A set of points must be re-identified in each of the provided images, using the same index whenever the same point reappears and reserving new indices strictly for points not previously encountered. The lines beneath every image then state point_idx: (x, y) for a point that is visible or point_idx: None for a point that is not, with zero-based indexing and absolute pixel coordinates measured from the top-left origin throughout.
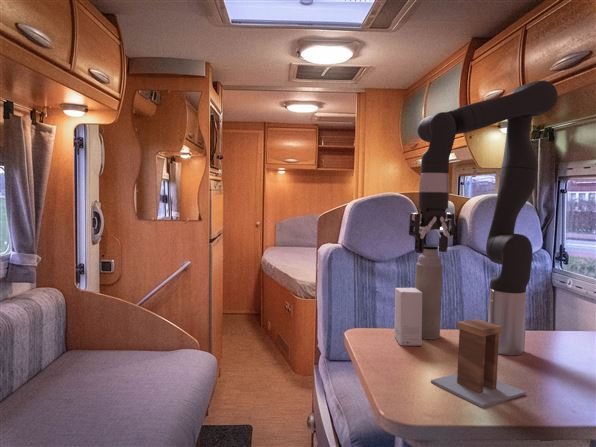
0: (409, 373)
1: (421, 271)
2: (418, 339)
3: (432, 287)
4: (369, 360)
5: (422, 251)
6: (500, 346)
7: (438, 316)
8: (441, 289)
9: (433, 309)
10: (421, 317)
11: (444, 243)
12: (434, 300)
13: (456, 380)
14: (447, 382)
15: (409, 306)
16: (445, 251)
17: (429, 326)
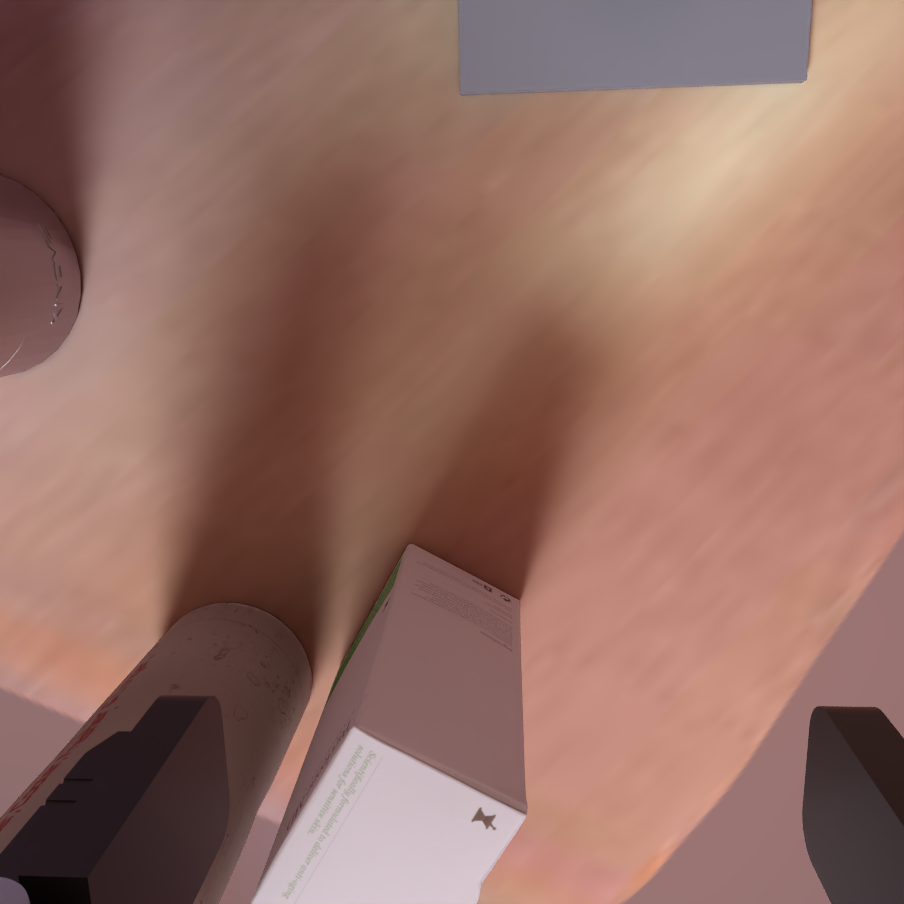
0: (804, 240)
1: None
2: (424, 564)
3: None
4: (860, 492)
5: (854, 712)
6: (44, 233)
7: (159, 669)
8: (25, 799)
9: None
10: (391, 620)
11: (148, 812)
12: None
13: (678, 8)
14: (750, 7)
15: (469, 704)
16: (191, 697)
17: (249, 652)
